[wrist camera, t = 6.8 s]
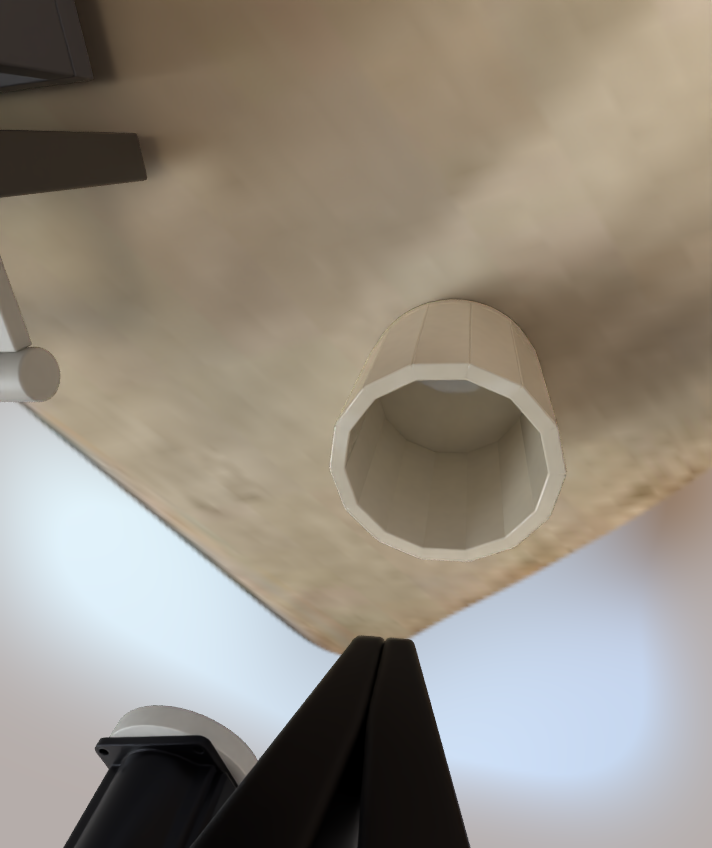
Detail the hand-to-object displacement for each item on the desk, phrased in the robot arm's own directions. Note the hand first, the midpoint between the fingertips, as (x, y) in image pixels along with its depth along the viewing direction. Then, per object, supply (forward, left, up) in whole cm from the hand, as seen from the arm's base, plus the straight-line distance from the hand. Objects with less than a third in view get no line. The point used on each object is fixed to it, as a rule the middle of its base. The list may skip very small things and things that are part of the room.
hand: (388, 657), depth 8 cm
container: (0, 0, -11) cm, 11 cm away
